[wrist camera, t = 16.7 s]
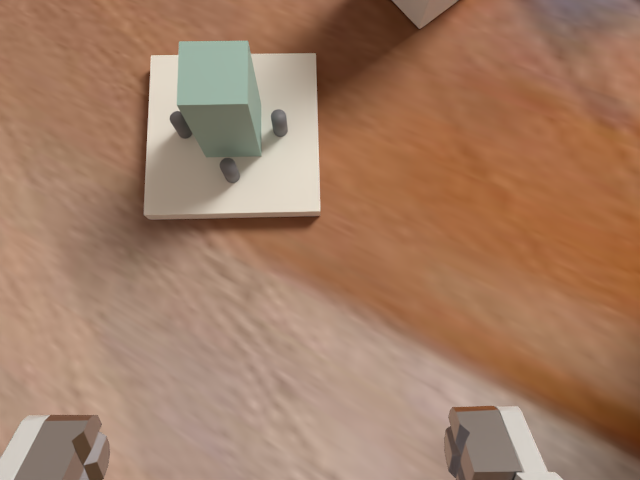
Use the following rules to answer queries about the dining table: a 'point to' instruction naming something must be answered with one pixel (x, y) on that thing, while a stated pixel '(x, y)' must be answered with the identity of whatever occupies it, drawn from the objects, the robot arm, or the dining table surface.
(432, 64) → the dining table surface
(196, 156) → the peg board
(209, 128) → the block
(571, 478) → the dining table surface
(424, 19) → the milk carton
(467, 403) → the dining table surface
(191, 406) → the dining table surface
